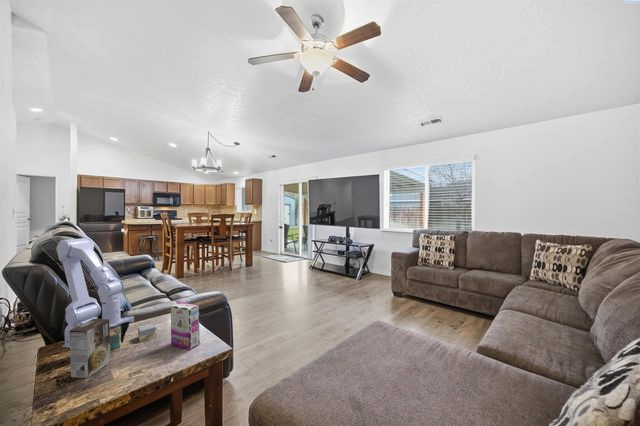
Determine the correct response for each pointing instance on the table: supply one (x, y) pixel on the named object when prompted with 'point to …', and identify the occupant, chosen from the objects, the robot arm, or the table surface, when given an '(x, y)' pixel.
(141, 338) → the base block
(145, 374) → the table surface
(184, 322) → the candy bar box
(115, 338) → the cube
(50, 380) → the table surface
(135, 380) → the table surface
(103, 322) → the coffee box
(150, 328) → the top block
